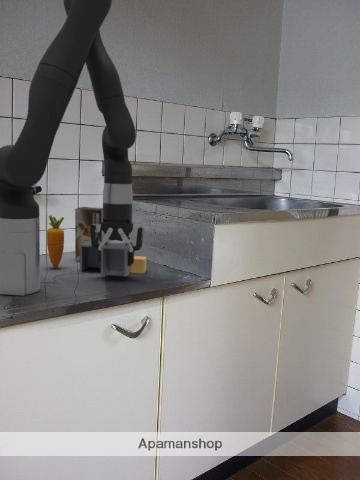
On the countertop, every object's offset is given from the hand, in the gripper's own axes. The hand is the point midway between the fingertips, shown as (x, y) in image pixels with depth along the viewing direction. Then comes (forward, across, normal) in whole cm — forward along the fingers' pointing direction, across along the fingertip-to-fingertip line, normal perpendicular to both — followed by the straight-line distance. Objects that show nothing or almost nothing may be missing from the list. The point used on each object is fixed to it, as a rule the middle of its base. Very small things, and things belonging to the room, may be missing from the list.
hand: (116, 264), depth 129 cm
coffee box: (+4, -12, +20) cm, 24 cm away
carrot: (+4, -19, +7) cm, 21 cm away
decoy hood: (+4, -8, +8) cm, 12 cm away
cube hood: (+2, 0, 0) cm, 2 cm away
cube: (+4, +4, +10) cm, 11 cm away
